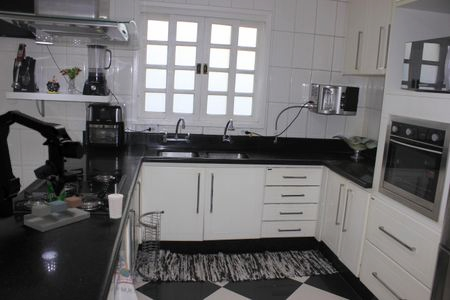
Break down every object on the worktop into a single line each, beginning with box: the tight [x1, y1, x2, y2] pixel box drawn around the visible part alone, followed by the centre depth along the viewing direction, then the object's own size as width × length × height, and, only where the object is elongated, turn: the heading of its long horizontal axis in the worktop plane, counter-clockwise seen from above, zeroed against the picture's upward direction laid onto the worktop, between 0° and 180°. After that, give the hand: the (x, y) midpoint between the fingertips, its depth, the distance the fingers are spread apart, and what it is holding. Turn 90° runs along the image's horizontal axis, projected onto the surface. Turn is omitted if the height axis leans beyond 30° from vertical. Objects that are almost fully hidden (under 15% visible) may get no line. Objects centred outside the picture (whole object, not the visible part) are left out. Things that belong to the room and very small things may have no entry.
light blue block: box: [48, 200, 67, 213], centre depth 158 cm, size 5×5×3 cm
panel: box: [23, 207, 91, 233], centre depth 159 cm, size 12×21×4 cm, turn 147°
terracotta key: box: [64, 196, 83, 208], centre depth 164 cm, size 5×5×3 cm
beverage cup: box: [107, 183, 124, 219], centre depth 166 cm, size 6×6×14 cm
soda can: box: [46, 180, 67, 203], centre depth 176 cm, size 8×8×12 cm
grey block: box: [31, 203, 51, 217], centre depth 152 cm, size 5×5×3 cm
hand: (57, 196), depth 157 cm, fingers closed
